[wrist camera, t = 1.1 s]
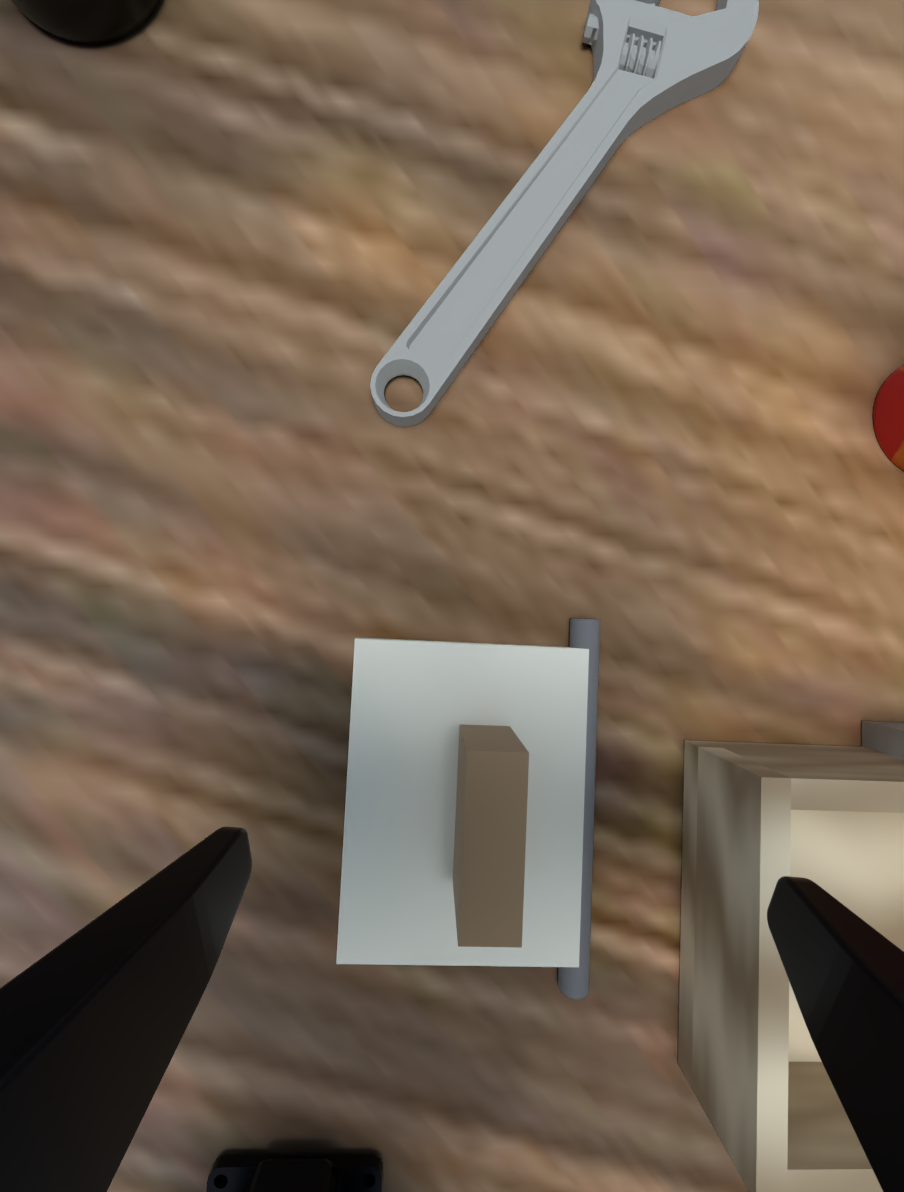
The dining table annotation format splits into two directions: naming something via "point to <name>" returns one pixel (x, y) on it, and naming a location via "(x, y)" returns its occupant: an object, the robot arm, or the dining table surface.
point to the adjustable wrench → (564, 176)
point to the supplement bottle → (87, 17)
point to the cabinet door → (471, 805)
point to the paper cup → (891, 417)
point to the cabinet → (747, 950)
